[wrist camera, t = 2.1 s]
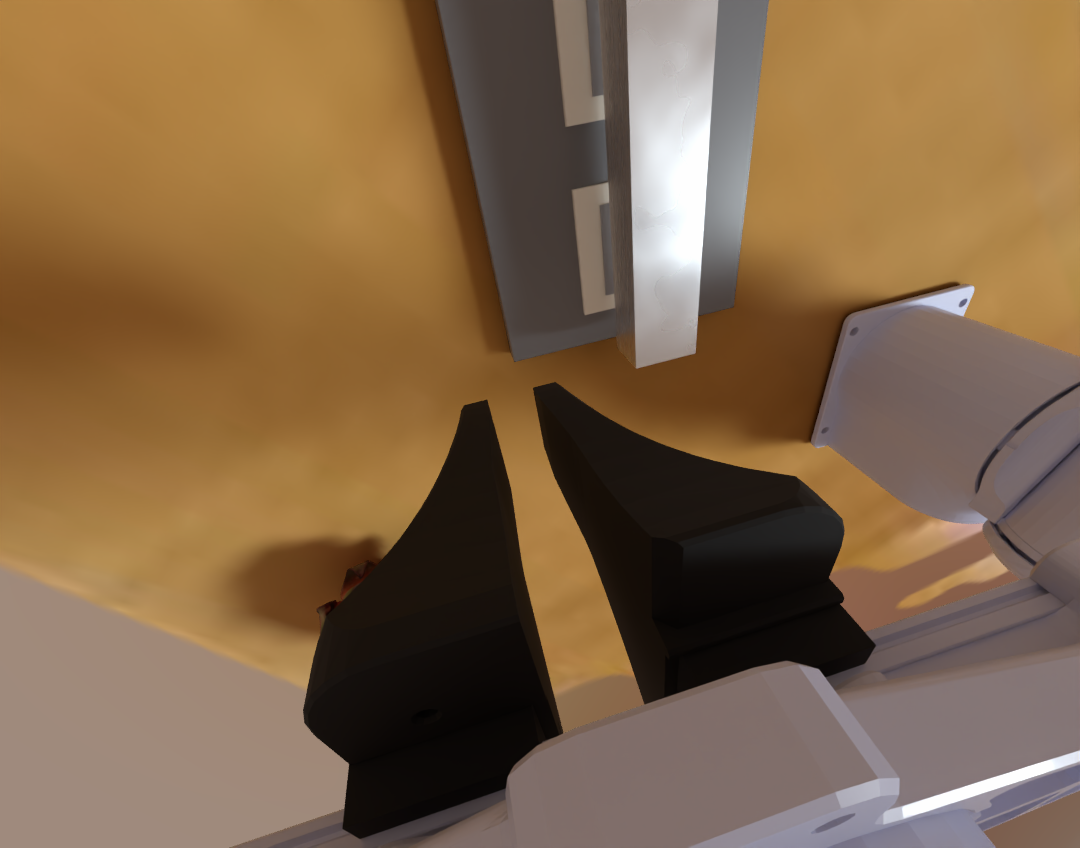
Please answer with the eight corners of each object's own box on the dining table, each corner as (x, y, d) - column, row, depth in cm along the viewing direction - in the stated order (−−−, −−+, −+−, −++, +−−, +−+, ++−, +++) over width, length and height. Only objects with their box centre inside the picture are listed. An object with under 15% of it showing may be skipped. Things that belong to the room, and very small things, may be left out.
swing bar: (553, -593, 8) (588, -784, 6) (710, -598, 8) (784, -783, 6) (611, 349, 18) (630, 370, 17) (677, 332, 19) (701, 351, 17)
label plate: (721, 300, 22) (758, 321, 20) (510, 352, 21) (522, 381, 18) (793, -439, 11) (897, -597, 8) (347, -408, 10) (324, -578, 7)
